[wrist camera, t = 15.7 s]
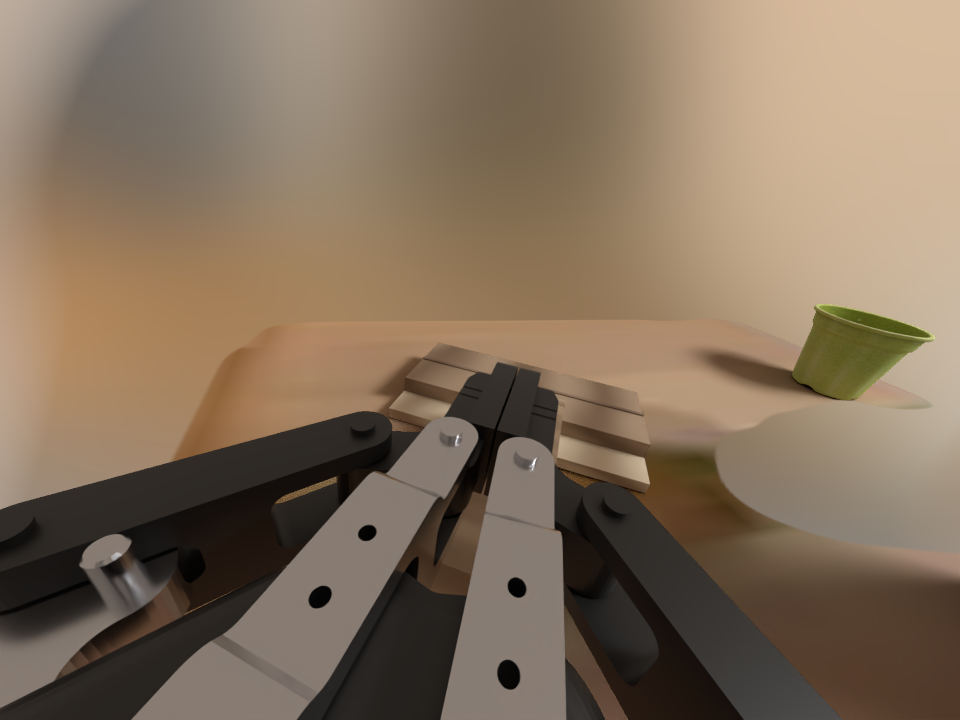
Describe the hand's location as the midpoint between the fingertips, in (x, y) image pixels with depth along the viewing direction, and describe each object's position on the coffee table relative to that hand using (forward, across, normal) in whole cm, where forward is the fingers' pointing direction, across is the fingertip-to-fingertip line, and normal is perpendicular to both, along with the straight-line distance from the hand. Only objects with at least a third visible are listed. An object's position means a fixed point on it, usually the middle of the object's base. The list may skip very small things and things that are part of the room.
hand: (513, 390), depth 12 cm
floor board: (+13, 0, +10) cm, 16 cm away
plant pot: (+35, -33, +10) cm, 49 cm away
